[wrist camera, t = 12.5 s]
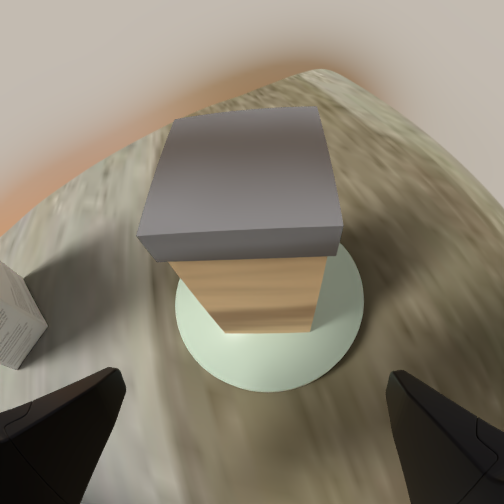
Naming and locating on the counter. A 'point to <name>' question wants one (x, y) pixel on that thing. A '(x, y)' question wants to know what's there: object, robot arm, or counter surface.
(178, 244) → the grey cushioned footstool
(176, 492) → the counter surface
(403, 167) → the counter surface
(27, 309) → the skincare box
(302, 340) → the sage green coaster
